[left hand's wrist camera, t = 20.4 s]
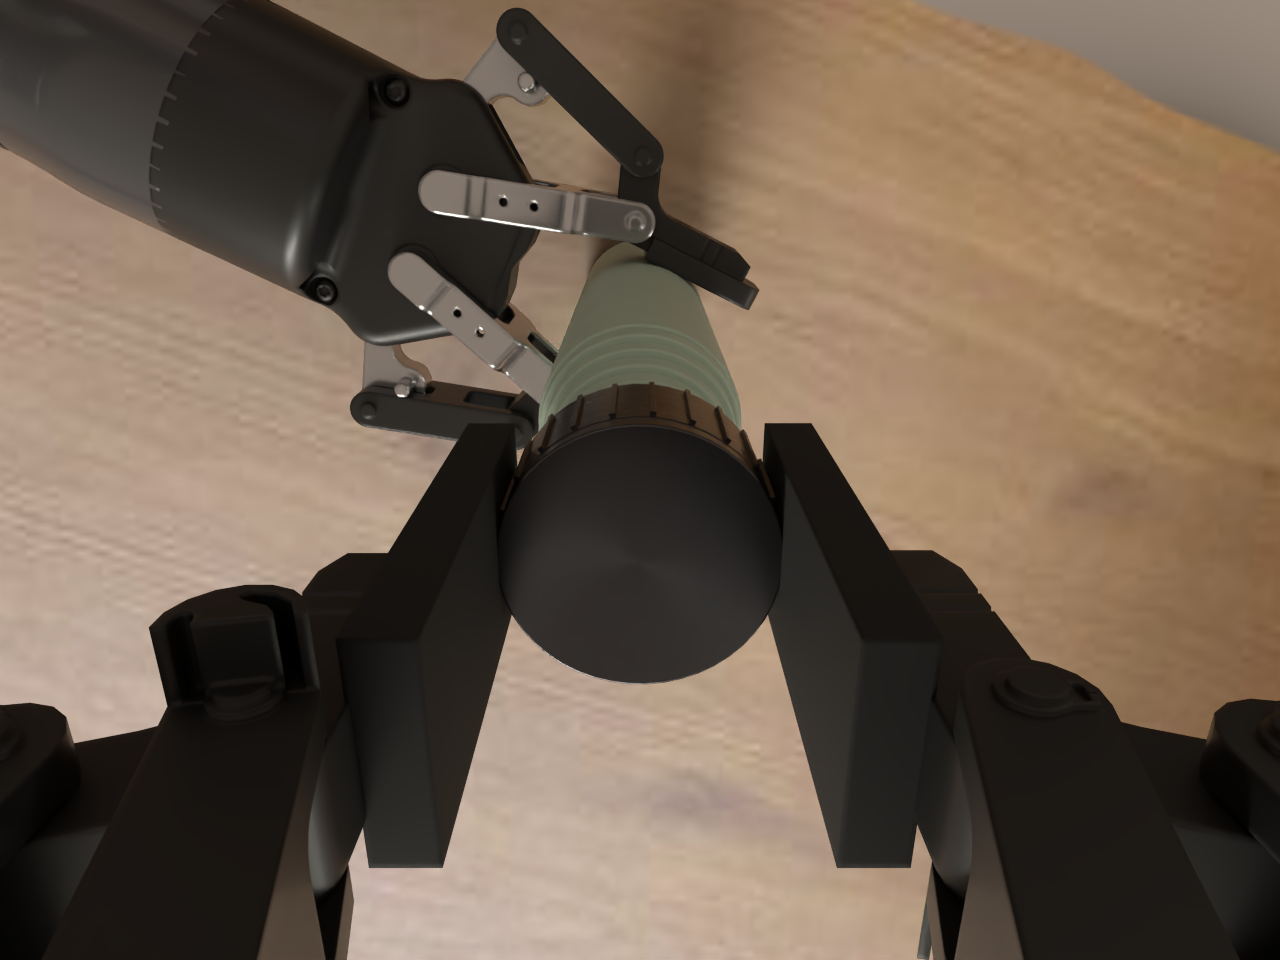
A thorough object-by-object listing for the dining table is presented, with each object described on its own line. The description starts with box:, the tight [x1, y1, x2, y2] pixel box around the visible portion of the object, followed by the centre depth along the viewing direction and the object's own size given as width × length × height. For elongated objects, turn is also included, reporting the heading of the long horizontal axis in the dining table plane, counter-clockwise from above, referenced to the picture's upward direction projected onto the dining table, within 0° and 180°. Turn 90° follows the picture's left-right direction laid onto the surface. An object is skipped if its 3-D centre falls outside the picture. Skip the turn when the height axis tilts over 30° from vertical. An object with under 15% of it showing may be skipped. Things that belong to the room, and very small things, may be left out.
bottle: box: [538, 242, 741, 432], centre depth 24 cm, size 4×4×23 cm
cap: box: [497, 382, 783, 684], centre depth 13 cm, size 4×4×2 cm
